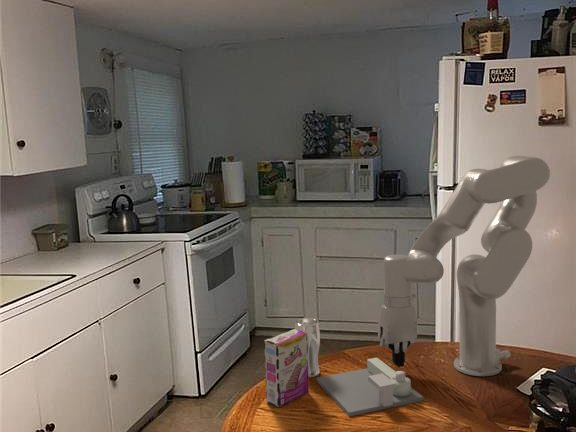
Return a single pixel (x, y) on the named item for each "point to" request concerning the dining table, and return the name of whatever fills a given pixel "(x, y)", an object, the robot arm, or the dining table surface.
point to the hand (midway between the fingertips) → (398, 364)
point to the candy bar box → (286, 367)
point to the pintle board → (364, 392)
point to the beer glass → (311, 342)
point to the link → (391, 376)
